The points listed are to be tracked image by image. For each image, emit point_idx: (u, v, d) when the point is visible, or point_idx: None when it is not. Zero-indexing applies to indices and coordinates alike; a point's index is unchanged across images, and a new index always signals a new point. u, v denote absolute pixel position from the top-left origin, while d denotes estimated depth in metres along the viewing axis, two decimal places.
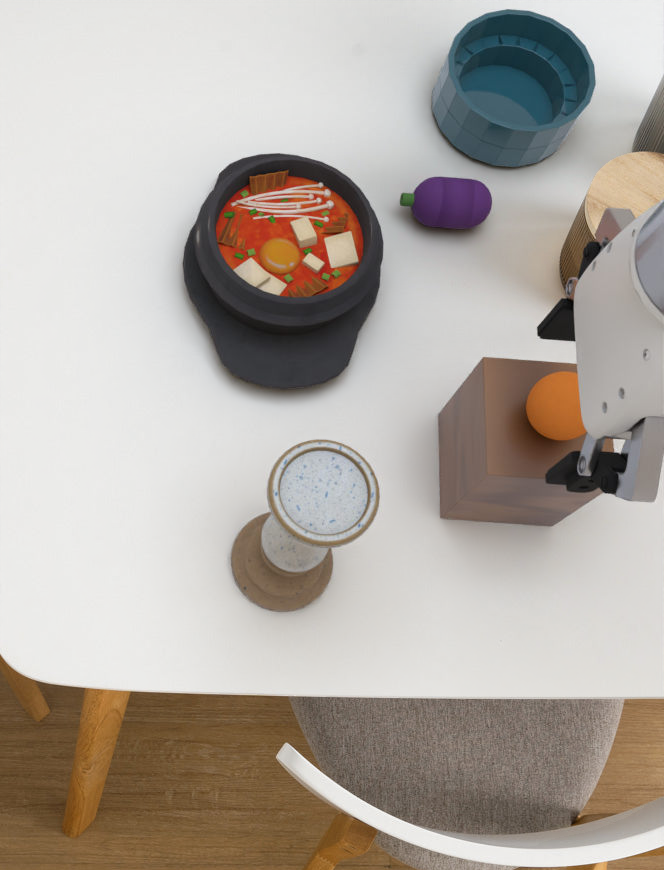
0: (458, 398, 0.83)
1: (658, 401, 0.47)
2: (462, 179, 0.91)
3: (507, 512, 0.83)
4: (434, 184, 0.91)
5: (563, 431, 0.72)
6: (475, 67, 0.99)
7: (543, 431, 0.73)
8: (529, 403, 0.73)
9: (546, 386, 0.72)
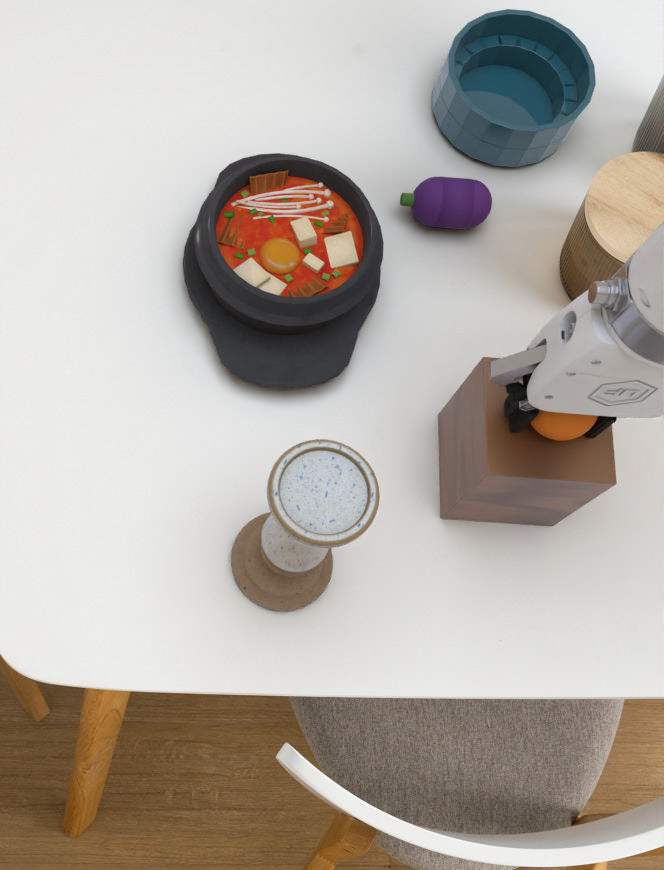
0: (458, 398, 0.83)
1: (557, 324, 0.63)
2: (462, 179, 0.91)
3: (507, 512, 0.83)
4: (434, 184, 0.91)
5: (563, 431, 0.72)
6: (475, 67, 0.99)
7: (543, 431, 0.73)
8: None
9: None
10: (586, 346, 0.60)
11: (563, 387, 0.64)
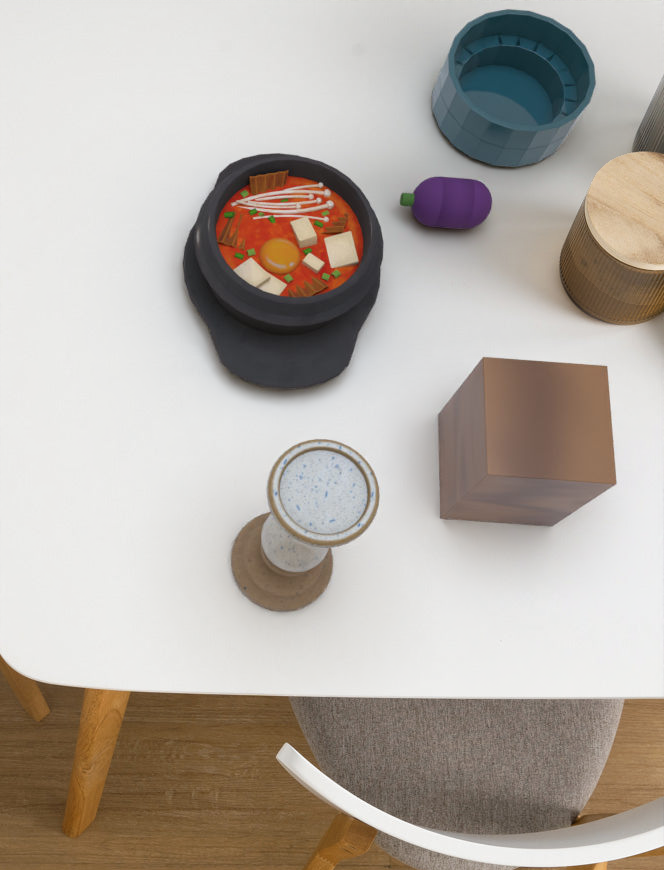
0: (458, 398, 0.83)
1: None
2: (462, 179, 0.91)
3: (507, 512, 0.83)
4: (434, 184, 0.91)
5: None
6: (475, 67, 0.99)
7: None
8: None
9: None
10: None
11: None
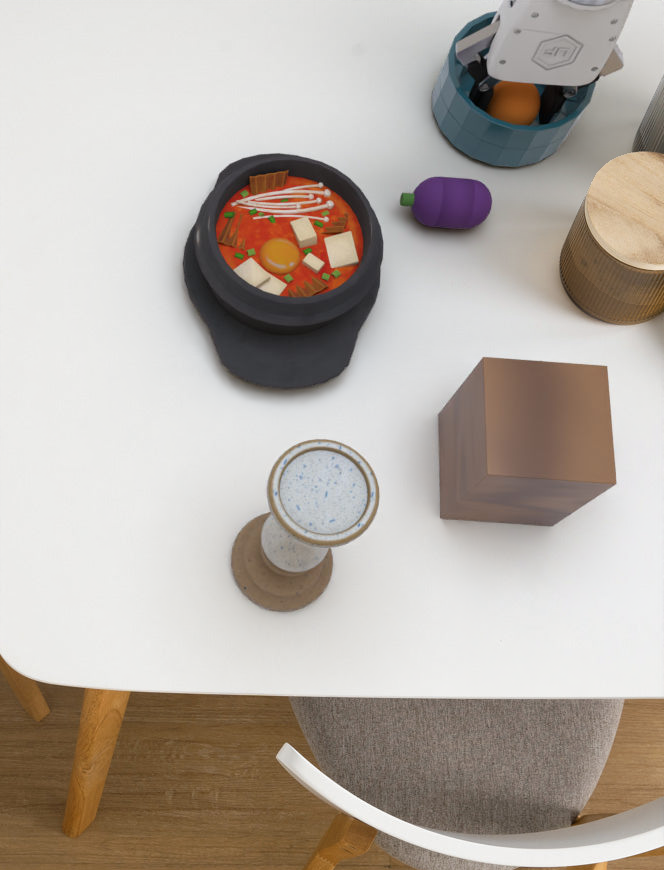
0: (458, 398, 0.83)
1: None
2: (462, 179, 0.91)
3: (507, 512, 0.83)
4: (434, 184, 0.91)
5: (511, 120, 0.94)
6: None
7: None
8: None
9: (498, 86, 0.94)
10: (527, 0, 0.80)
11: (512, 48, 0.85)
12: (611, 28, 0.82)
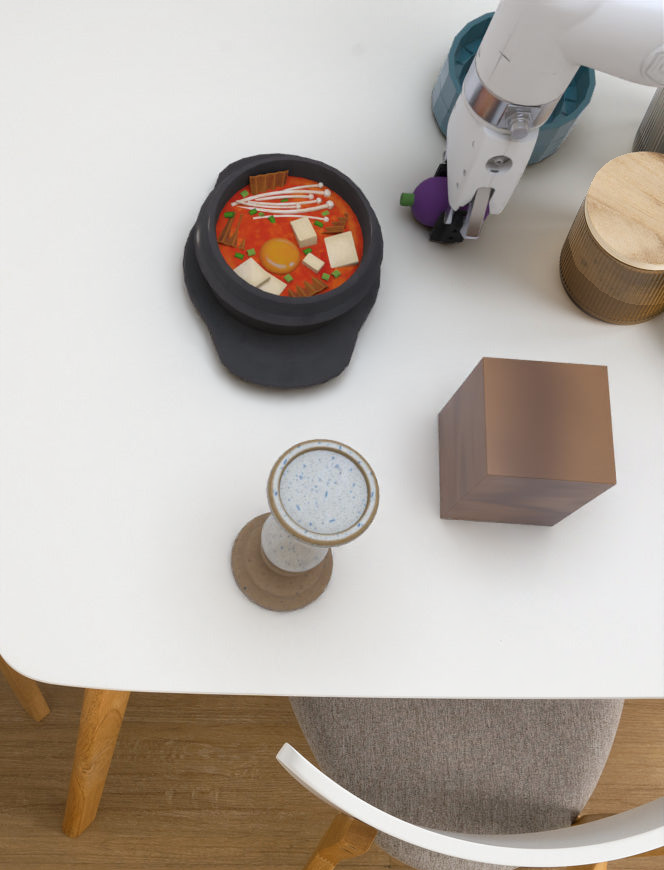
0: (458, 398, 0.83)
1: (483, 174, 0.81)
2: None
3: (507, 512, 0.83)
4: (434, 184, 0.91)
5: None
6: None
7: None
8: None
9: None
10: (529, 150, 0.78)
11: None
12: None
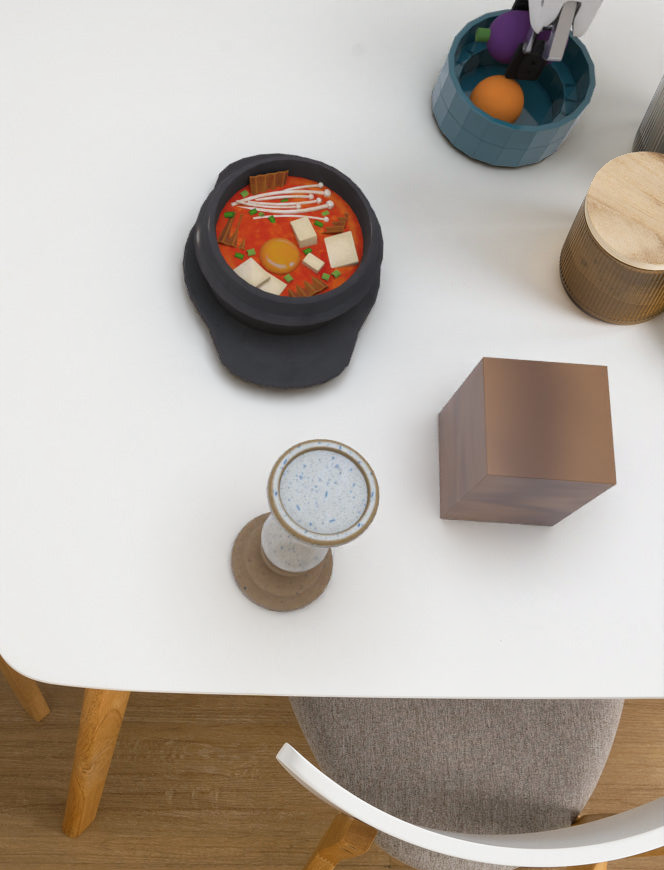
0: (458, 398, 0.83)
1: None
2: None
3: (507, 512, 0.83)
4: (512, 16, 0.90)
5: None
6: (475, 67, 0.99)
7: None
8: None
9: (471, 94, 0.95)
10: None
11: None
12: None
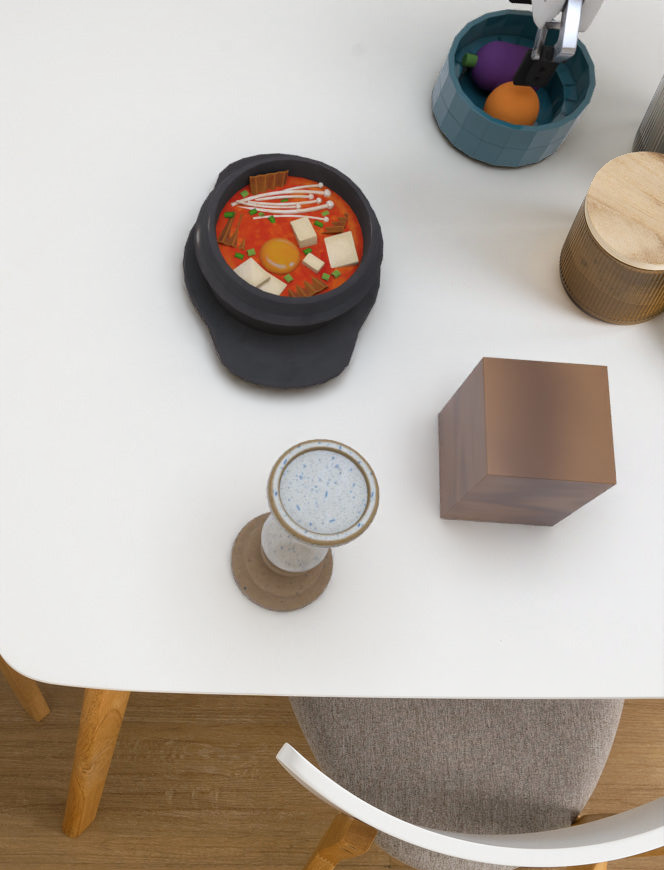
0: (458, 398, 0.83)
1: None
2: None
3: (507, 512, 0.83)
4: (495, 41, 0.95)
5: None
6: None
7: None
8: (484, 107, 0.95)
9: (497, 92, 0.93)
10: None
11: None
12: None
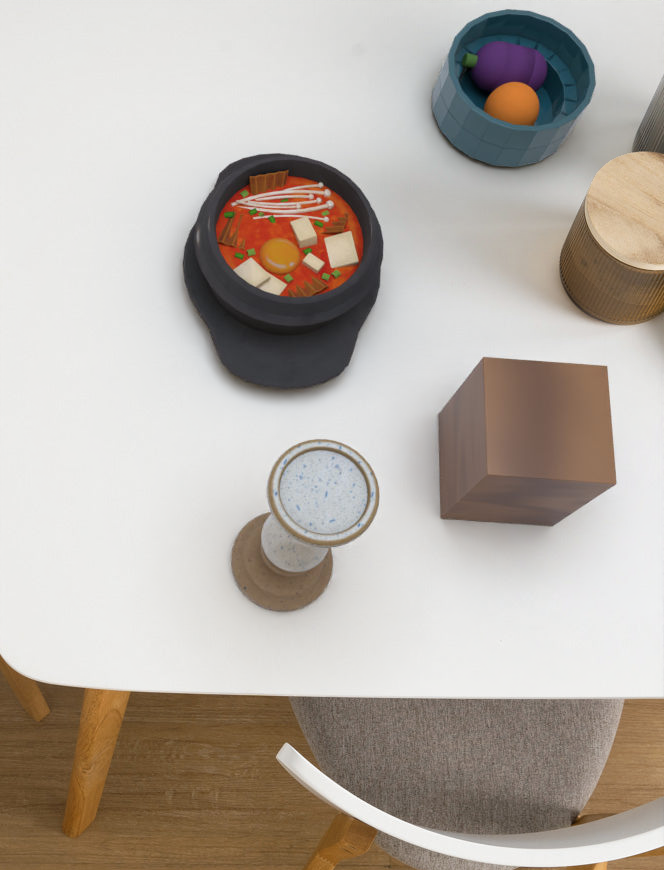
0: (458, 398, 0.83)
1: None
2: None
3: (507, 512, 0.83)
4: (495, 41, 0.95)
5: None
6: None
7: None
8: (484, 108, 0.95)
9: (497, 93, 0.93)
10: None
11: None
12: None
